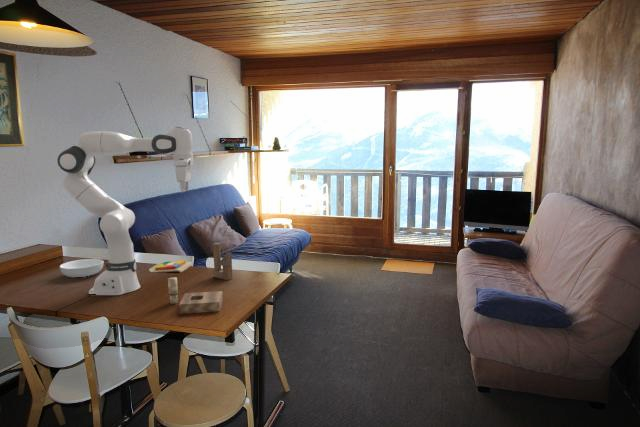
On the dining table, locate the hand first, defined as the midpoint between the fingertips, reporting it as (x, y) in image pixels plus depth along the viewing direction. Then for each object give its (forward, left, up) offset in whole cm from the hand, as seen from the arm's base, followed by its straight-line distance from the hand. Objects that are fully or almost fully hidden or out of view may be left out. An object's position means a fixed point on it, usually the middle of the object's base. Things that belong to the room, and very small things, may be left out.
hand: (184, 191), depth 208 cm
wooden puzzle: (-17, +36, -48) cm, 62 cm away
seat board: (+9, -30, -47) cm, 56 cm away
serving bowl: (-62, +30, -47) cm, 83 cm away
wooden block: (+14, +11, -47) cm, 50 cm away
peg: (-4, -23, -47) cm, 52 cm away
